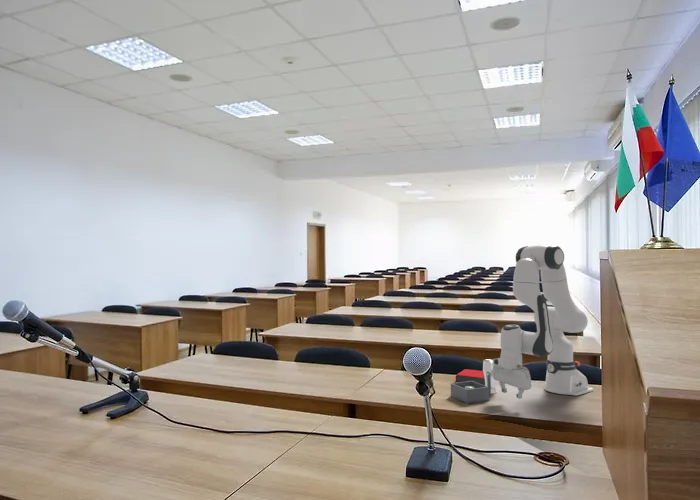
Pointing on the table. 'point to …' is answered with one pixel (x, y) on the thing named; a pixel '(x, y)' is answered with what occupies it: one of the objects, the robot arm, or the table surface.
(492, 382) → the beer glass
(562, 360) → the robot arm
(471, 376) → the red device housing
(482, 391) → the bin
